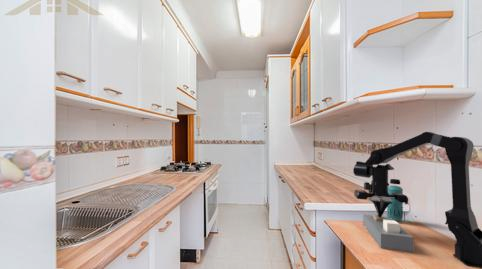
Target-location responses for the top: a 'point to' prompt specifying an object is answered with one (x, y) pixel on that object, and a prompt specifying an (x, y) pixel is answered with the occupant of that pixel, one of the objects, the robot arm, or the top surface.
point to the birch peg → (379, 218)
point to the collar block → (388, 235)
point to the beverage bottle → (395, 202)
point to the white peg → (391, 226)
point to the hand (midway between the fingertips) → (379, 216)
